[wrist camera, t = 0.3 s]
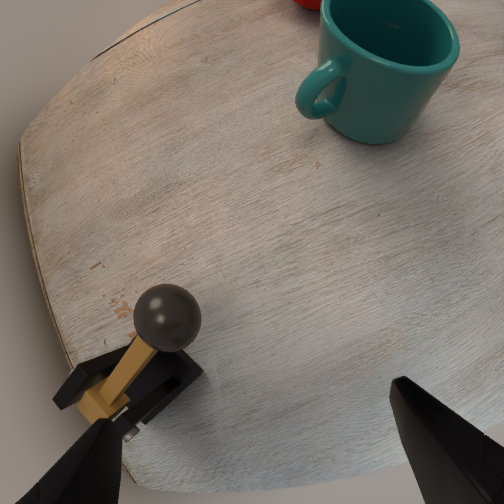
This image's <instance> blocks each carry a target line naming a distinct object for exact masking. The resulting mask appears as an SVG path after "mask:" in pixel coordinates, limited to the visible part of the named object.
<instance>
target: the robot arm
mask: <svg viewBox="0 0 504 504" xmlns="http://www.w3.org/2000/svg"><path fill="white" fill-rule="evenodd" d="M389 398H390V403H391V407H392V410H393V414H394V417H395V421H396V424H397V428H398V432H399V435H400V439H401V442H402V445H403V448H404V450H405V452H406V455H407V457H408V460H409V462H410V465H411V467H412V470H413V472H414V475H415V478H416V480H417V483H418V485H419V488H420V490H421V493H422V496H423V499H424V501H425V504H504V447H503V446H501V445H499V444H498V443H497V442H495V441H494V440H492V439H491V438H490V437H488V436H487V435H485V436H484V433H483V432H481V431H480V430H478V429H477V428H476V427H474V426H473V425H472V424H470V423H469V422H468V421H466V420H465V419H463V418H462V417H461V416H459V415H458V414H457V413H455V412H454V411H452V410H451V409H450V408H448V407H447V406H446V405H444V404H443V403H442V402H440V401H439V400H438V399H436V398H435V397H433V396H432V395H431V394H429V393H428V392H427V391H425V390H424V389H423V388H421V387H420V386H419V385H417V384H416V383H414V382H413V381H412V380H410V379H409V378H408V377H406V376H401V377H398V378H395V379H393V380H392V383H391V389H390V396H389ZM121 465H122V433H121V431H120V430H119V429H118V428H117V426H116V425H115V424H114V423H113V421H112V420H111V419H109V418H99V419H97V420H96V421H95V422H94V423H93V424H92V426H91V427H90V428H89V429H88V430H87V431H86V432H85V433H84V434H83V435H82V436H81V437H80V438H79V439H78V440H77V441H76V442H75V443H74V444H73V445H72V447H70V449H69V450H68V451H67V452H66V453H65V454H64V455H63V456H62V457H61V458H60V459H59V460H58V461H57V462H56V463H55V464H54V466H52V468H51V469H50V470H49V471H48V472H47V473H46V474H45V475H44V476H43V477H42V478H41V479H40V480H39V482H37V483H36V484H35V485H34V486H33V487H32V488H31V489H30V490H29V491H28V492H27V493H26V494H25V495H24V496H23V497H22V498H21V499H20V500H19V501H17V502H16V503H15V504H118V498H119V488H120V481H121Z"/></svg>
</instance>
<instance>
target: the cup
mask: <svg viewBox="0 0 504 504" xmlns="http://www.w3.org/2000/svg"><path fill="white" fill-rule="evenodd" d="M459 52H460V44H459V39H458V35H457V33H456V31H455V28H454V27H453V25H452V23H451V22H450V20H449V19H448V18H447V17H446V15H445V14H444V13H443V12H442V11H441V10H440V9H439V8H438V7H437V6H436V5H434V4H433V3H432V2H431V1H429V0H322V1H321V7H320V30H319V51H318V67H317V68H316V69H314V70H313V71H312V72H311V73H310V74H309V75H308V76H307V77H306V78H305V80H304V81H303V82H302V84H301V85H300V87H299V89H298V91H297V94H296V98H295V104H296V107H297V109H298V111H299V112H300V114H302V115H303V116H304V117H306V118H308V119H311V120H315V119H321V118H325V119H326V120H327V121H328V122H329V124H330V125H331V126H332V127H334V128H335V129H336V130H337V131H338V132H340V133H341V134H343V135H345V136H346V137H348V138H350V139H353V140H355V141H358V142H362V143H367V144H384V143H389V142H392V141H394V140H397V139H398V138H400V137H401V136H403V135H404V134H405V133H406V132H407V131H408V130H409V129H410V127H411V126H412V125H413V123H414V122H415V120H416V119H417V118H418V116H419V115H420V113H421V112H422V111H423V109H424V108H425V106H426V105H427V104H428V102H429V101H430V99H431V98H432V96H433V95H434V94H435V92H436V91H437V89H438V88H439V86H440V85H441V83H442V82H443V80H444V79H445V77H446V76H447V75H448V73H449V72H450V70H451V69H452V67H453V66H454V64H455V62H456V61H457V59H458V56H459ZM316 99H317V102H315V100H316ZM314 102H315V103H314Z"/></svg>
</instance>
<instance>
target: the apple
mask: <svg viewBox="0 0 504 504" xmlns="http://www.w3.org/2000/svg"><path fill="white" fill-rule="evenodd" d="M293 1H295V2H297V3H298V4H300V5H302V6H304V7H306V8H309V9H312V10H320V7H321V1H322V0H293Z"/></svg>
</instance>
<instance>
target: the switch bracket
mask: <svg viewBox="0 0 504 504" xmlns="http://www.w3.org/2000/svg"><path fill="white" fill-rule="evenodd" d="M137 336H138V334H137ZM137 336H136V337H137ZM136 337H135V338H134V339H133V340H132V341H131V342H130V344H129V345H127V346H124V347H122V348H119V349H116V350H114V351H111V352H109V353H106V354H104V355H101V356H98V357H96V358H93V359H90V360H88V361H85V362H83V363H80V364H78V365H77V366H76V367H75V368H74V369H73V370H72V371H71V372H70V373H69V374H68V379H67V380H66V381H65V383H64V384H63V385H62V386H61V388H60V389H59V391H58V392H57V393H56V395H55V396H54V397H53V401H54V402H55V404H56V405H57V406H58V407H59V409H60V410H63V409H64V408H66V407H68V406H70V405H72V404H74V403H76V402H78V401H80V400H81V398H82V397H83V395H84V393H85V391H87V390H88V389H90V388H91V387H93V386H94V385H96V384H97V383H99V382H101V381H102V380H104V379H105V378H107V377H108V376H110V375H111V373H112V372H113V371H114V369H115V368H116V366H117V365H118V363H119V362H120V360H121V359H122V357H123V356H124V354H125V353H126V352H127V350H128V349H129V347H130V346H131V344H132V343H133V341H134V340H135V339H136ZM202 372H203V370H202V369H201V368H200V367H199V366H198V365H197V364H196V363H195V362H194V361H193V360H192V359H191V358H190V357H189V356H188V355H187V354H186V353H185V352H184V351H183V349H182V350H179V351H175V352H161V351H157V353H156V354H155V355H154V356H153V358H152V359H151V360H150V361H149V362H148V364H147V365H146V366H145V367H144V369H143V370H142V371H141V372H140V373H139V375H138V376H137V377H136V378H135V380H134V381H133V382H132V383H131V385H130V386H129V387H128V388H127V389H126V391H125V392H124V393H125V394H126V395H127V396H128V397H129V399H130V400H131V401H130V402H129V403H128V404H127V405H126V406H127V407H128V408H129V409H128V410H126V411H125V412H124V413H122V414H121V415H120V416H119V417H118V418H117V419H116V420H115V421H114V422H113V423H114V424H115V425H116V426H117V428H118V429H119V430H120V431H121V433H122V439H123V440H124V441H125V442H126V443H127V442H128V441H129V440H131V439H132V438H133V437H134V436H135V435H136V434H137V433H138V432H139V431H140V429H139V428H138V427H137V426H136V425H137V424H138V423H139V422H140V421H141V422H142V423H143V424H144V425H146V424H147V423H148V422H149V421H150V420H151V419H153V418H154V417H155V416H156V415H157V414H158V413H159V412H160V411H161V410H162V409H164V408H165V407H166V406H167V405H168V404H169V403H170V402H171V401H172V400H173V399H174V398H176V397H177V396H178V395H179V394H180V393H181V392H182V391H183V390H184V389H185V388H186V387H187V386H188V385H189V384H190V383H192V382H193V381H194V380H195V379H196V378H197V377H198V376H199V375H200V374H201V373H202Z"/></svg>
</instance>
